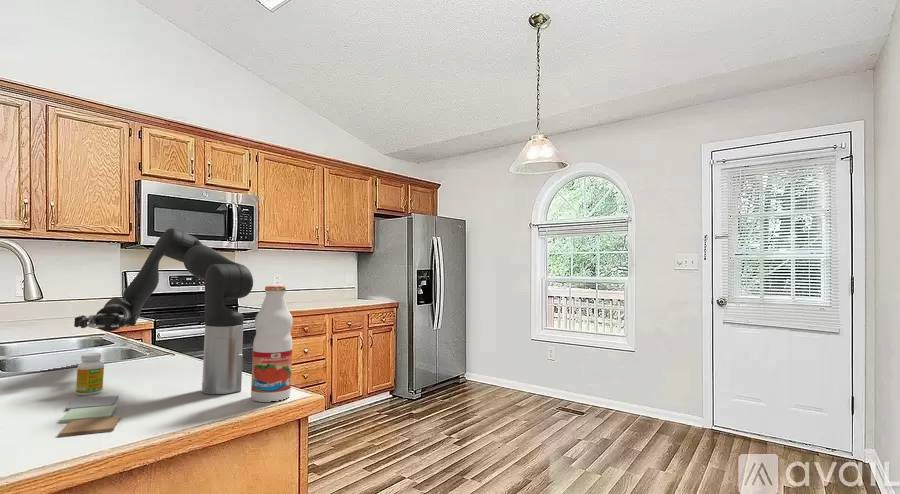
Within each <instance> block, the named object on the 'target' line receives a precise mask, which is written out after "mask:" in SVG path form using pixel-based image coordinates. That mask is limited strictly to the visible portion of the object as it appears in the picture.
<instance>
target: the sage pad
mask: <svg viewBox="0 0 900 494" xmlns="http://www.w3.org/2000/svg"><path fill="white" fill-rule="evenodd" d="M117 407H118V405H117V404H114V405H112V406H100V407H89V408H77V409H70V410H69V411H66V413H65V414H64V415H63V416H62V417H61V418H60V419H59V424H64V423H67V424H68V423H69V422H70V421H71V420H81V419H92V418H102V417H113V414H114V413H115V412H116V409H117Z"/></svg>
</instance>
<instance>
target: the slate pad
mask: <svg viewBox="0 0 900 494" xmlns="http://www.w3.org/2000/svg"><path fill="white" fill-rule="evenodd" d="M119 396H120V395H119V394H118V395H117V394H116V395H108V396H107V395H105V396H95V397H94V396H93V397H81V398H75V399H74V400H72V402H70V404H69V405H68V406H67V407H66V408H65V412H68V411H69V410H70V409H77V408H89V407H100V406H112V405H116V404H115V403H116V402H117V401H118V399H119Z"/></svg>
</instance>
